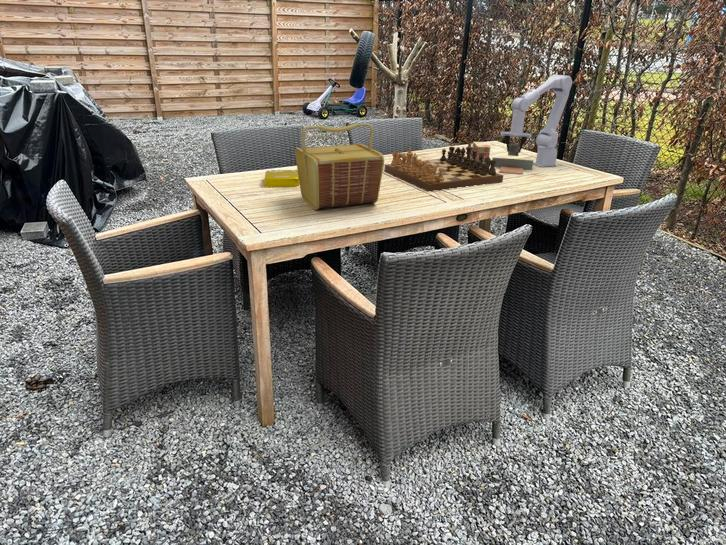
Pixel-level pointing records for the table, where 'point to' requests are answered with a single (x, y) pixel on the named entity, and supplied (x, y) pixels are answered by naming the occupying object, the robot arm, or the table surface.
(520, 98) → the robot arm
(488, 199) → the table surface
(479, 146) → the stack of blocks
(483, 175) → the chess set
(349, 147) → the picnic basket
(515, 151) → the letter cube
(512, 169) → the tile
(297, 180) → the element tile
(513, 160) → the screen
